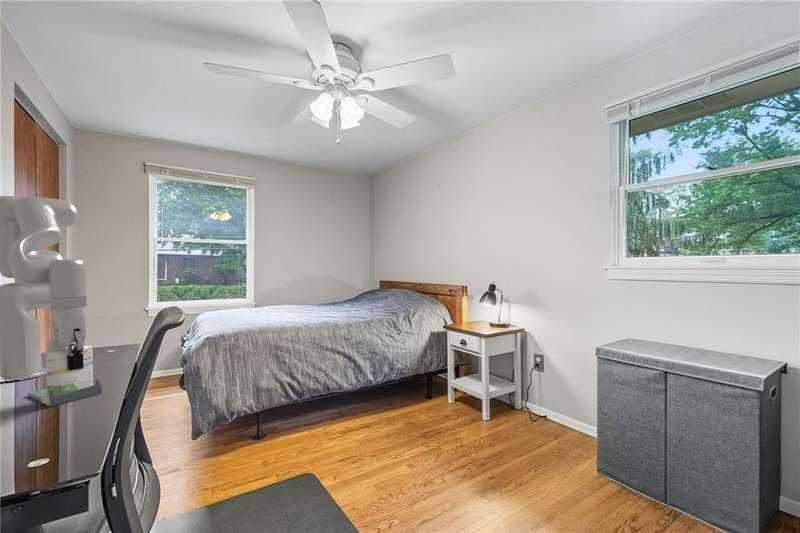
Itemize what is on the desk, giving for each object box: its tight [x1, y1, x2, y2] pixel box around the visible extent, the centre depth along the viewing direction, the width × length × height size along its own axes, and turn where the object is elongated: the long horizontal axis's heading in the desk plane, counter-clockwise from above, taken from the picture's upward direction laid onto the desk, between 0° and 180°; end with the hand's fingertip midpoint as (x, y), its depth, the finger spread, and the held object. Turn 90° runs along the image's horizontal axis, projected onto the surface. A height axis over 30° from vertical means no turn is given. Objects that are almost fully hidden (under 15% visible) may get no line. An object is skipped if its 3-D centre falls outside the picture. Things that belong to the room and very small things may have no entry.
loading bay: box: [27, 378, 103, 407], centre depth 102 cm, size 17×11×4 cm, turn 60°
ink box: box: [45, 339, 94, 395], centre depth 100 cm, size 9×5×15 cm, turn 168°
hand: (70, 367), depth 100 cm, fingers closed on ink box, 6 cm apart
